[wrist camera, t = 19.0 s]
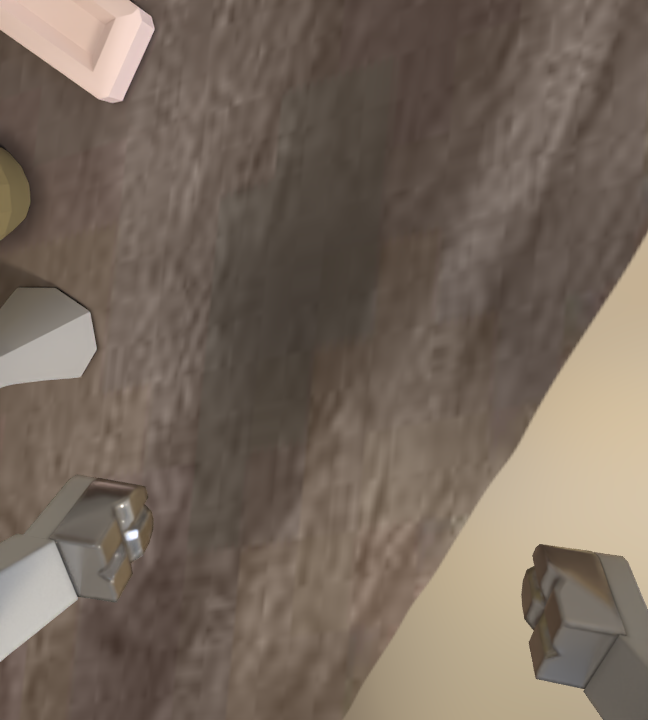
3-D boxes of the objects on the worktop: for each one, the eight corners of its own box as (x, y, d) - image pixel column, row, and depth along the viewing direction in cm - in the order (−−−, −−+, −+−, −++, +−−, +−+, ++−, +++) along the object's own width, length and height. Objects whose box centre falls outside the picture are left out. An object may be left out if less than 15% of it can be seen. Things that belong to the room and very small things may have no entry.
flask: (9, 270, 35) (-122, 305, 26) (105, 303, 35) (10, 349, 26) (2, 359, 38) (-119, 420, 29) (92, 389, 38) (1, 459, 29)
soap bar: (121, 108, 31) (102, 103, 29) (-11, 14, 30) (-42, 1, 27) (160, 23, 29) (142, 10, 27) (21, -80, 28) (-10, -103, 26)
